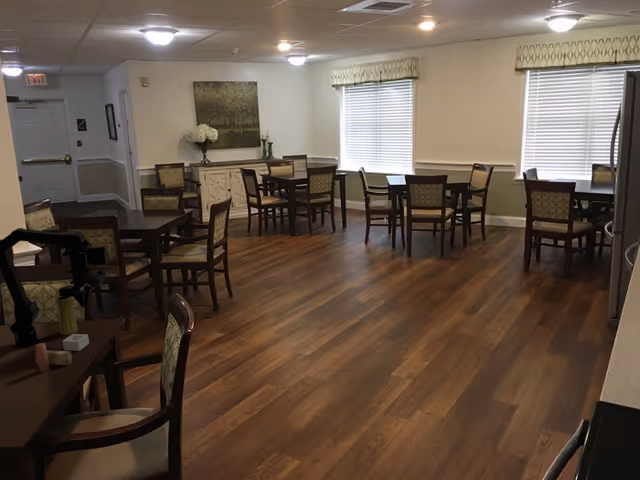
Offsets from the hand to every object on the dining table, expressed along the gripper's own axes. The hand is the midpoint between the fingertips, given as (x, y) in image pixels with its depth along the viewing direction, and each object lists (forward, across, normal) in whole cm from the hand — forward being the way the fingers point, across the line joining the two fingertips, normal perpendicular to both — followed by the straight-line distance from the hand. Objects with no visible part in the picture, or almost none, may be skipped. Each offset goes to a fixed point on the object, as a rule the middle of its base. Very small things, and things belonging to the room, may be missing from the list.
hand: (84, 306), depth 191 cm
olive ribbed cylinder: (+13, +4, +11) cm, 17 cm away
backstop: (+12, -20, 0) cm, 24 cm away
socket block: (+12, -8, 0) cm, 15 cm away
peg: (+12, -26, 0) cm, 28 cm away
